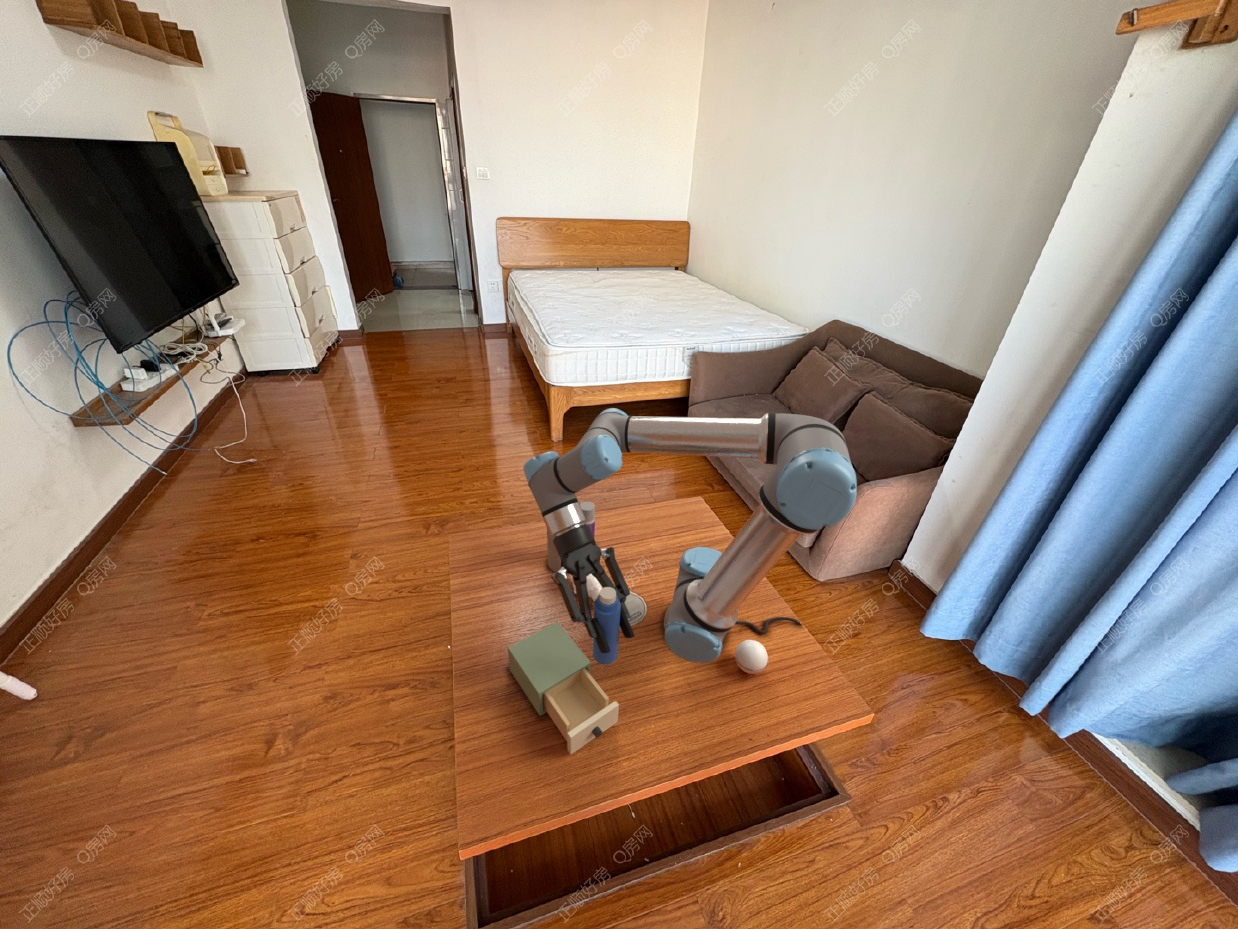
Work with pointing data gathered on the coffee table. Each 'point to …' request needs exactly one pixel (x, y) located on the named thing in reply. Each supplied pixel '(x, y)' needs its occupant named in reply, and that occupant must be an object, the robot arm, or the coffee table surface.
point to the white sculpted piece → (590, 586)
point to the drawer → (580, 709)
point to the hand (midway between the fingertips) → (618, 644)
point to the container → (589, 514)
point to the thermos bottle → (552, 554)
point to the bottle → (607, 624)
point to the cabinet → (545, 662)
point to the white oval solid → (751, 656)
